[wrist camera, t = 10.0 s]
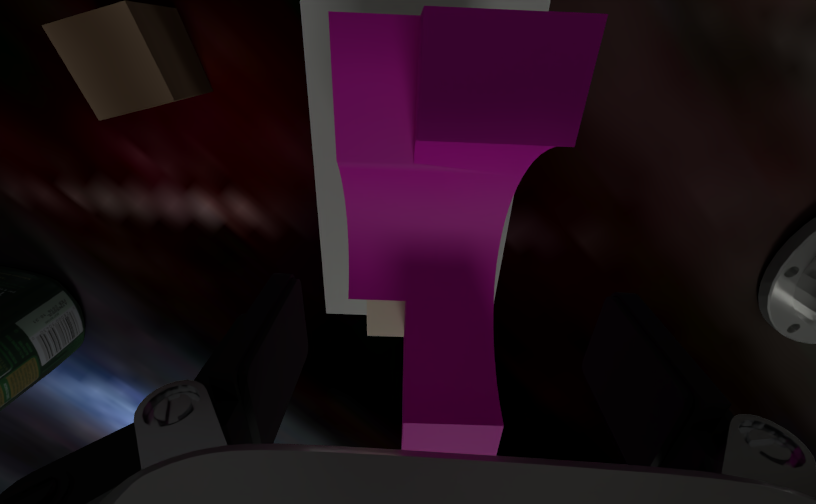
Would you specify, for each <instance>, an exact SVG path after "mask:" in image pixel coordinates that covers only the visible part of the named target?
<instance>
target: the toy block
mask: <svg viewBox="0 0 816 504" xmlns="http://www.w3.org/2000/svg"><path fill="white" fill-rule="evenodd" d="M328 16H329V35H330V53H331V71H332V89H333V107H334V125H335V144H336V161H337V164H338V167H339V171H340V175H341V180H342V185H343V191H344V198H345V206H346V216H347V229H348V251H349V291H348V299H359V300H389V301H405V319H404V355H403V405H402V450H412V451H429V452H445V453H461V454H476V455H492V456H496V454H497V450H498V446H499V442H500V438H501V434H502V430H503V426H504V425H503V420H502V415H501V409H500V403H499V397H498V389H497V381H496V372H495V359H494V342H493V304H494V286H495V275H496V266H497V259H498V252H499V246H500V241H501V236H502V231H503V227H504V223H505V219H506V216H507V213H508V209H509V206H510V203H511V201H512V198H513V195H514V193H515V191H516V188H517V186H518V184H519V182H520V180H521V178H522V177H523V175H524V173H525V172H526V170H527V169H528V167H529V166H530V165H531V164H532V162H533V161H534V160H535V159H536V158H537V157H538V156H539V155H540V154H542V153H543V152H545V151H546V150H548V149H550V148H553V147H556V146H563V147H574V146H575V142H576V138H577V134H578V131H579V127H580V123H581V119H582V115H583V111H584V107H585V103H586V99H587V95H588V91H589V87H590V83H591V79H592V75H593V71H594V67H595V63H596V59H597V56H598V52H599V48H600V44H601V40H602V36H603V32H604V28H605V24H606V20H607V16H608V14H595V13H573V12H552V11H530V10H508V9H487V8H465V7H443V6H424V7H423V10H422V12H421V15H399V14H377V13H355V12H333V11H328Z"/></svg>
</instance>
